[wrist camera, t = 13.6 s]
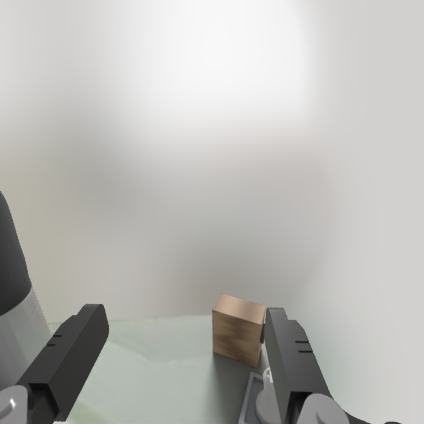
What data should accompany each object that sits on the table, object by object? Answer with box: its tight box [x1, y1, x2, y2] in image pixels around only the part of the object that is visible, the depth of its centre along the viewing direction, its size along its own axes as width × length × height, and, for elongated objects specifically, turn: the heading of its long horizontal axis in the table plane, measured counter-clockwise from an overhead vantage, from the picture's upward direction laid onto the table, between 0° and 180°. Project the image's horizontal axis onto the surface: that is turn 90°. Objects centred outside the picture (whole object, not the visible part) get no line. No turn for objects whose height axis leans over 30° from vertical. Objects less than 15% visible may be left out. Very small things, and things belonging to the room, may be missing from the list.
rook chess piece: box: [255, 368, 282, 424], centre depth 30 cm, size 4×4×8 cm
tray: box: [238, 371, 264, 424], centre depth 32 cm, size 7×7×2 cm
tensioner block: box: [212, 294, 266, 368], centre depth 39 cm, size 9×4×10 cm, turn 68°
